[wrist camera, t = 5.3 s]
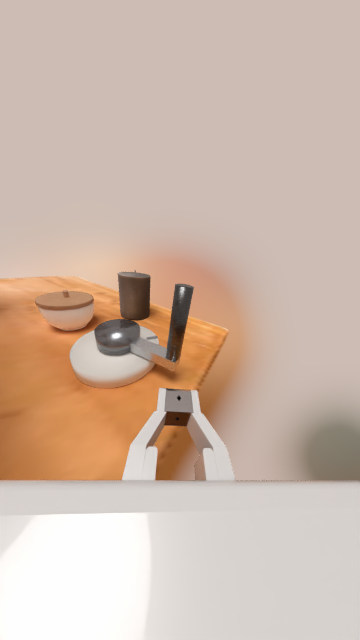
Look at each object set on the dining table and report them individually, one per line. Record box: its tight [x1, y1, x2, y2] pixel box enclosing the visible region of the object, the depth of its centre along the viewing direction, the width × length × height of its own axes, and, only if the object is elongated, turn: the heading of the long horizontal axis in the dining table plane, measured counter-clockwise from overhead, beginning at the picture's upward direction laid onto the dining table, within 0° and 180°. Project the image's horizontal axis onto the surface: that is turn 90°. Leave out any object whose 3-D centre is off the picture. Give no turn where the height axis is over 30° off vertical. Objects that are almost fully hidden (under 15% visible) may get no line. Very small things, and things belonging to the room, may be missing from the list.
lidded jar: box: [35, 290, 94, 331], centre depth 32 cm, size 11×11×9 cm
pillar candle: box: [118, 272, 150, 320], centre depth 42 cm, size 10×10×15 cm
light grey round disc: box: [70, 326, 159, 388], centre depth 27 cm, size 16×16×3 cm
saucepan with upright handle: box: [94, 284, 194, 372], centre depth 22 cm, size 17×8×14 cm, turn 67°
